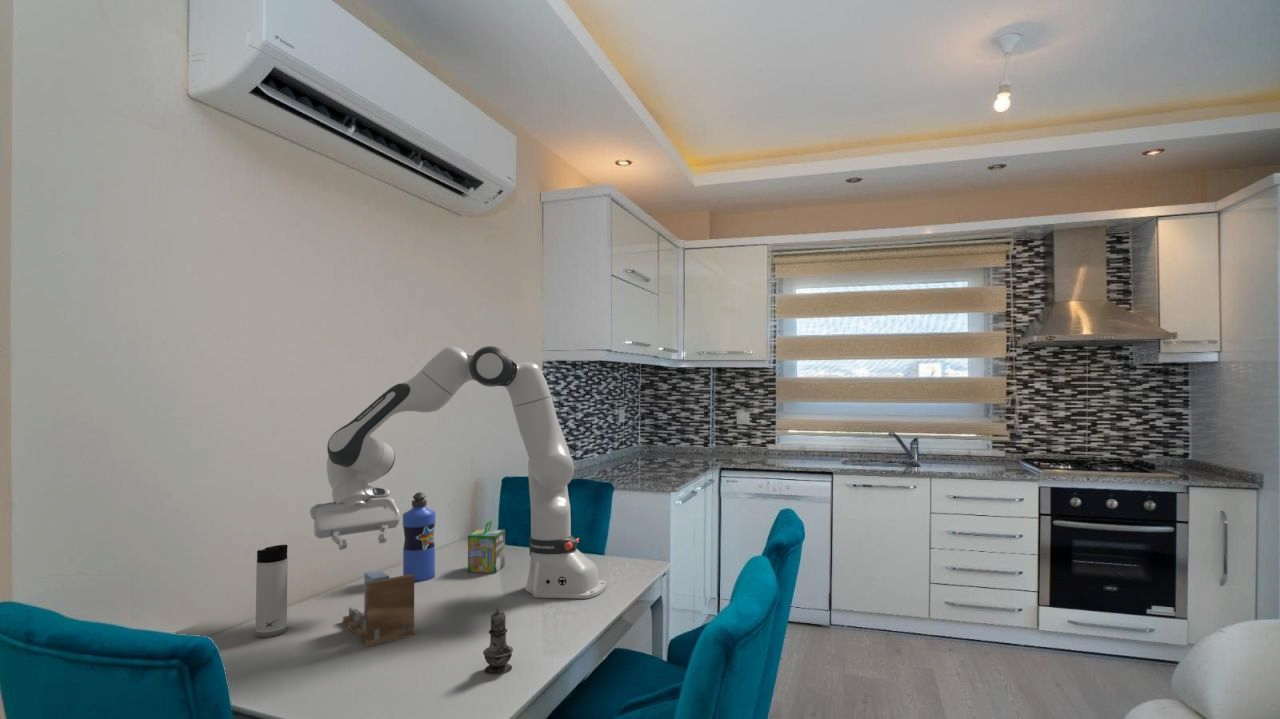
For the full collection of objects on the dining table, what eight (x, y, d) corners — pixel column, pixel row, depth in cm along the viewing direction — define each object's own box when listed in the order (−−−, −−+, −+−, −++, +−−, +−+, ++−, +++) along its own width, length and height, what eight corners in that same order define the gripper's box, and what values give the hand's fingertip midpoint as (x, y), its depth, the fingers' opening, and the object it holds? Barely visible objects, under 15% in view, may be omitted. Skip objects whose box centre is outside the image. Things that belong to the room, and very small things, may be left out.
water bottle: (442, 575, 193) (442, 491, 194) (416, 583, 185) (416, 496, 186) (421, 571, 198) (421, 489, 199) (395, 579, 190) (396, 494, 191)
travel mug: (274, 638, 145) (275, 548, 146) (248, 637, 146) (250, 548, 147) (294, 628, 151) (295, 542, 152) (269, 627, 152) (271, 541, 153)
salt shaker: (485, 663, 130) (485, 603, 130) (515, 662, 130) (514, 601, 131) (480, 676, 124) (480, 613, 124) (511, 674, 124) (511, 611, 125)
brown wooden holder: (343, 621, 155) (343, 566, 155) (385, 612, 161) (385, 559, 162) (368, 646, 139) (368, 584, 140) (414, 634, 146) (414, 575, 146)
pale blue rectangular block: (364, 619, 153) (364, 572, 153) (379, 616, 155) (379, 569, 155) (373, 627, 147) (373, 578, 148) (389, 623, 150) (389, 575, 150)
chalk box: (478, 565, 204) (478, 518, 205) (505, 565, 203) (505, 518, 204) (466, 573, 195) (466, 524, 196) (495, 573, 194) (495, 524, 195)
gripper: (311, 497, 159) (320, 544, 151) (394, 488, 172) (407, 531, 164) (306, 513, 163) (315, 559, 154) (389, 503, 175) (401, 545, 167)
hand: (363, 544), depth 159 cm, fingers open, 8 cm apart
